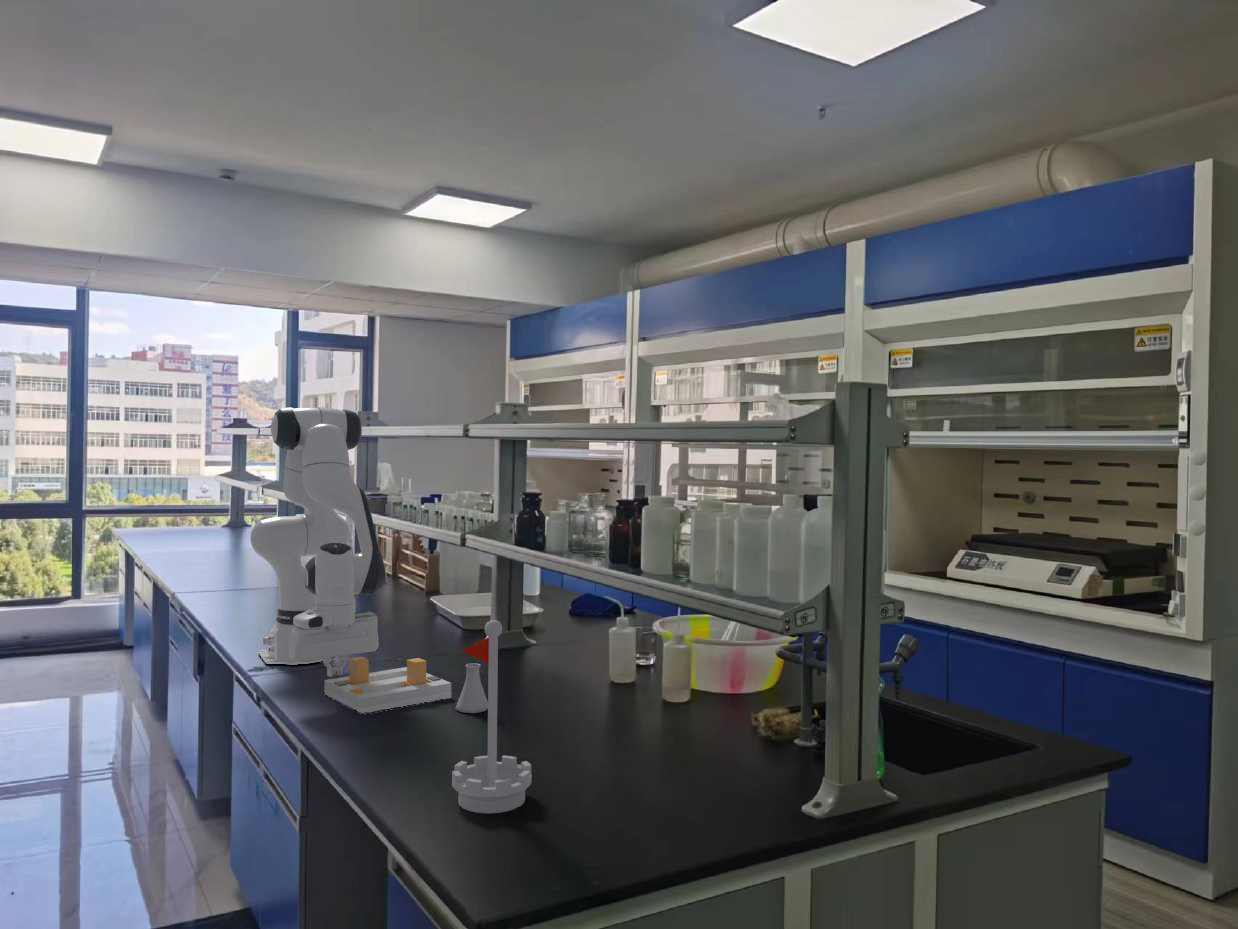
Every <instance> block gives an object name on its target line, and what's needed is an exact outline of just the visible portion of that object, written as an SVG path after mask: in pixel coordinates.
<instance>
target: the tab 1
mask: <svg viewBox="0 0 1238 929" xmlns="http://www.w3.org/2000/svg"><path fill="white" fill-rule="evenodd" d="M369 661H370V659H367V658H366V657H363V656H358V657H352V658H349V661H348V662H349V668H348V670H349V672H348V673H349V681H347V683H348V684H350V685H355V684H361V683H367V682H370V681H369V673H370V670H369V669H370V665H369V664H370V662H369Z"/></svg>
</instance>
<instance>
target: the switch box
mask: <svg viewBox="0 0 1238 929" xmlns="http://www.w3.org/2000/svg"><path fill="white" fill-rule="evenodd" d="M323 681H324V684H323V685H324V686H323V687H324V690H323V691H324V692H325V693H326V694H329V695H330V696H333V697H334V698H335V699H338V700H339V701H340V702H343V703H344V704H347V705H348V706H350V707H352V708H353V709H356V710H357V711H358V712H361V713H364V712H373V711H377V710H381V709H390V708H394V707H401V708H404V707H403V706H406V707H408V706H407V705H411V706H413V705H412V704H416V705H421V704H420V703H422V704H425V703H424V702H427V703H432V702H436V700H437V701H441V700H440V699H443V700H447V699H451V698H452V682H450V681H447V680H445V679H442V678H440V677H438V676H435V675H432V674H431V673H427V672H426V682H427V683H426V684H420V685H414V686H409V687H405V682H407V666H404V667H400V668H399V667H398V668H392V669H386V670H385V669H384V670H380V671H379V670H378V671H373V672H369V681H370V682H367V683H361V684H355V685H350V684H348V683H347V681H349V676H343V677H336V678H328V679H324V680H323ZM324 692H323V693H324ZM390 710H391V709H390Z"/></svg>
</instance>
